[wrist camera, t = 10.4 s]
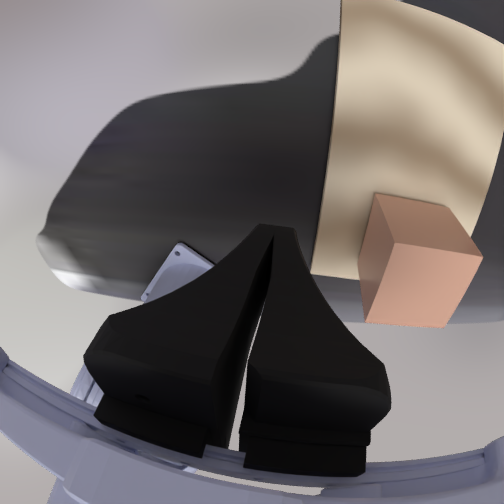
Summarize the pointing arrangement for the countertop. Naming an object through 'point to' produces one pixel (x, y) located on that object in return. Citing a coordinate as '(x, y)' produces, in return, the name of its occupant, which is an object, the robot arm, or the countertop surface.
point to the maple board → (407, 122)
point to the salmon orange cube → (414, 263)
